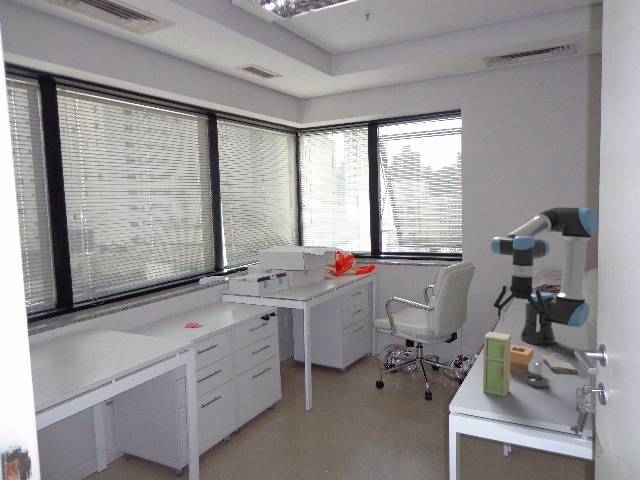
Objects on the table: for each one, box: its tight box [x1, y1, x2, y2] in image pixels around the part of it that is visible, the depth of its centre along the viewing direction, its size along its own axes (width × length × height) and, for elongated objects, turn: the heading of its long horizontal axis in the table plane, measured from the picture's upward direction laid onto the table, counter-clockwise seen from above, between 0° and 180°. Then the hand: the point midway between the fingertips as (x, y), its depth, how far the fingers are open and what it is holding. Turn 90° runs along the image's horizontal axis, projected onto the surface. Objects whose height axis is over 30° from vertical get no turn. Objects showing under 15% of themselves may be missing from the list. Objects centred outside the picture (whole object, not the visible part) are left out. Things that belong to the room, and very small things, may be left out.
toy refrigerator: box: [482, 331, 512, 398], centre depth 166 cm, size 8×7×21 cm
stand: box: [510, 347, 529, 376], centre depth 186 cm, size 6×6×10 cm
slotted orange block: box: [510, 344, 534, 366], centre depth 186 cm, size 9×9×4 cm
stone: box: [541, 355, 578, 375], centre depth 191 cm, size 15×11×3 cm
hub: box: [526, 362, 549, 390], centre depth 173 cm, size 7×7×8 cm
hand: (519, 327), depth 184 cm, fingers open, 13 cm apart
